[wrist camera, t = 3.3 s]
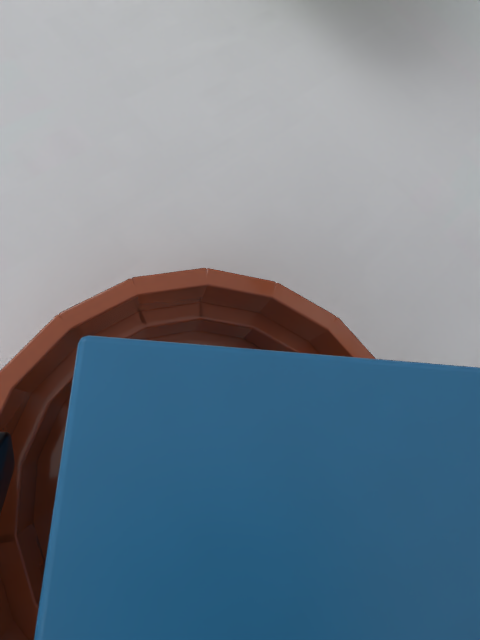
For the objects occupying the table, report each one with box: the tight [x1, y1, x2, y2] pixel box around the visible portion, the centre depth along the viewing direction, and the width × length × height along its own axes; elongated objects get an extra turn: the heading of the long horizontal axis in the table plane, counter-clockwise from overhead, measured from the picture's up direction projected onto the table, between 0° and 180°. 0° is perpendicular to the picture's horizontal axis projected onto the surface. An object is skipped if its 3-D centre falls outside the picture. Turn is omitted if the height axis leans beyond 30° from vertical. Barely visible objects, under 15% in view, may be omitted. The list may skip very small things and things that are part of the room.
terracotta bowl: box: [0, 268, 375, 640], centre depth 13 cm, size 13×13×4 cm
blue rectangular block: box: [34, 335, 480, 640], centre depth 9 cm, size 5×5×12 cm
